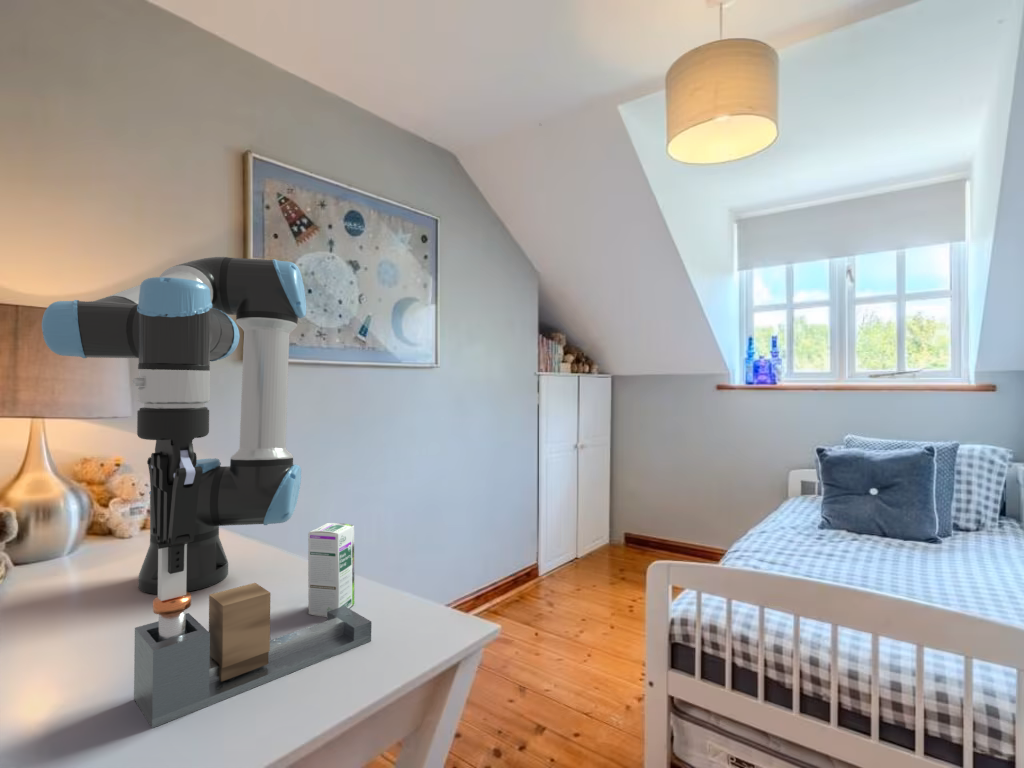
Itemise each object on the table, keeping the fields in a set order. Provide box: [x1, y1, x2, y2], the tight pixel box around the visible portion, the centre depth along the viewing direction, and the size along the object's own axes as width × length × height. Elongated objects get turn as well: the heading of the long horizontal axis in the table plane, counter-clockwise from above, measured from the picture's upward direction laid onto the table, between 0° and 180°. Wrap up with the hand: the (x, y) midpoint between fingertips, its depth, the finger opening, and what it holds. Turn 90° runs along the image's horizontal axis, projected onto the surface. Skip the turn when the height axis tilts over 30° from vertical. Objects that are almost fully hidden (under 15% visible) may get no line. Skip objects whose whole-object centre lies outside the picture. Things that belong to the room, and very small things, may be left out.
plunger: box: [152, 591, 192, 642], centre depth 67 cm, size 4×4×10 cm
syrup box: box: [307, 522, 355, 618], centre depth 94 cm, size 6×6×14 cm
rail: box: [133, 606, 372, 729], centre depth 75 cm, size 8×29×9 cm, turn 137°
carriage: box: [208, 582, 271, 682], centre depth 73 cm, size 5×6×10 cm
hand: (172, 596), depth 67 cm, fingers closed
